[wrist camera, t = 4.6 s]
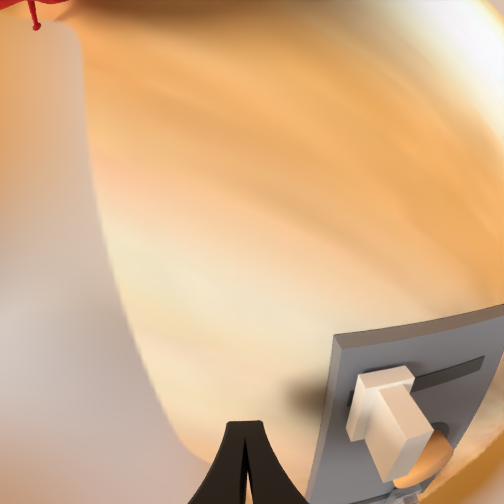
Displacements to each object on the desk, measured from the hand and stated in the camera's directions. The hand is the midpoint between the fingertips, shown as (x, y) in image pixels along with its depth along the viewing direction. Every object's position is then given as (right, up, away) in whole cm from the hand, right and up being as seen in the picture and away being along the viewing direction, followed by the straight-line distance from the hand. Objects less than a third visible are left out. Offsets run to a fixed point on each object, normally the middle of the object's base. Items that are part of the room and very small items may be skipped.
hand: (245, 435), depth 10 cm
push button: (+11, -6, +4) cm, 13 cm away
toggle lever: (+6, +1, +2) cm, 6 cm away
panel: (+10, -6, +5) cm, 13 cm away
